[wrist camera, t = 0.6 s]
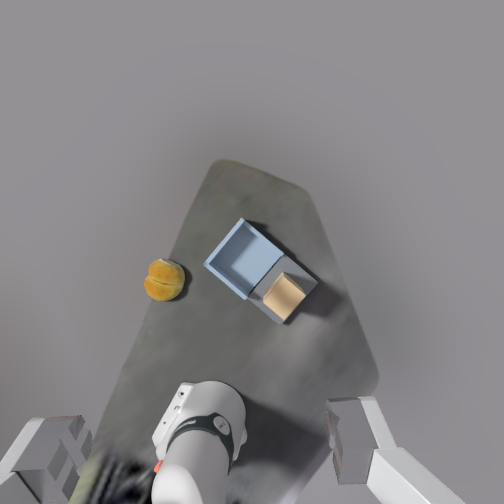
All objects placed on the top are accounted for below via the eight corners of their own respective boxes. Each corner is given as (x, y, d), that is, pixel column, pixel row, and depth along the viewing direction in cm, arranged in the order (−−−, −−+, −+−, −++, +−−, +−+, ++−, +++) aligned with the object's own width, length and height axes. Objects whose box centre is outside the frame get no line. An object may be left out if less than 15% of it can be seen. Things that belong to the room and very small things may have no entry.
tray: (247, 294, 64) (245, 300, 59) (208, 261, 64) (202, 264, 59) (283, 252, 63) (284, 254, 58) (243, 219, 63) (241, 217, 58)
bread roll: (142, 291, 66) (134, 295, 62) (156, 254, 65) (148, 255, 61) (177, 305, 65) (171, 310, 61) (191, 268, 65) (185, 270, 61)
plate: (279, 322, 64) (280, 325, 62) (248, 295, 64) (247, 297, 62) (316, 281, 63) (318, 282, 61) (284, 253, 63) (284, 254, 61)
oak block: (282, 308, 62) (284, 320, 54) (263, 293, 62) (262, 302, 54) (301, 287, 61) (305, 295, 53) (282, 271, 61) (284, 277, 53)
